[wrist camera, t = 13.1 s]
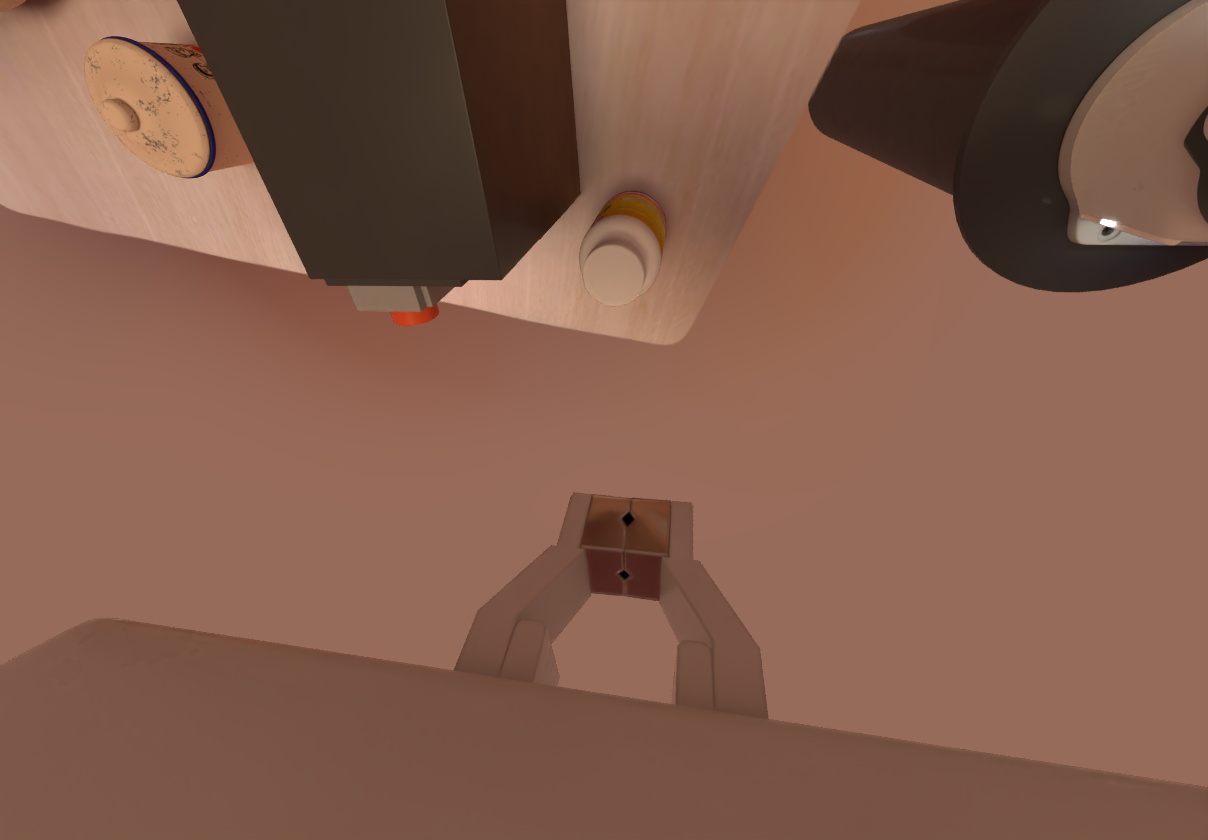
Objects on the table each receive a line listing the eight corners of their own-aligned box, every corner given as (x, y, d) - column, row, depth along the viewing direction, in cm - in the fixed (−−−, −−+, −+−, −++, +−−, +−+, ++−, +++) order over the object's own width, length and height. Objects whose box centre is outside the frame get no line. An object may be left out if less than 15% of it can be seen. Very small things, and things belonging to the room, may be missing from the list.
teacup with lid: (283, 69, 38) (157, 68, 29) (294, 177, 44) (192, 204, 35) (142, 7, 37) (-33, -14, 28) (172, 127, 43) (35, 141, 34)
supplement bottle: (613, 177, 40) (587, 212, 30) (679, 208, 40) (674, 253, 30) (588, 246, 44) (558, 297, 34) (648, 273, 44) (635, 331, 35)
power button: (439, 280, 31) (417, 298, 29) (447, 307, 32) (426, 326, 30) (398, 280, 32) (373, 298, 29) (407, 306, 33) (384, 325, 30)
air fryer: (564, -15, 32) (423, -113, 15) (583, 225, 43) (511, 327, 26) (415, 0, 34) (141, -72, 17) (468, 227, 44) (330, 323, 27)
